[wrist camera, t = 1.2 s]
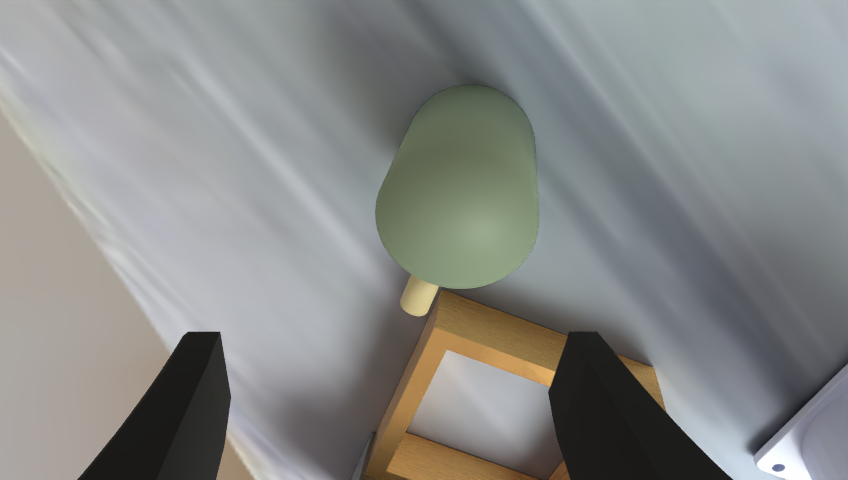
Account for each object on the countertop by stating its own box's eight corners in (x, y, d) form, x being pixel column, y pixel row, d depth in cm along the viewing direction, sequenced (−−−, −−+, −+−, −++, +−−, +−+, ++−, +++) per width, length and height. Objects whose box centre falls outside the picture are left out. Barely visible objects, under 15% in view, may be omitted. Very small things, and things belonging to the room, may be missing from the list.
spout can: (557, 113, 20) (568, 181, 16) (484, 262, 24) (475, 354, 19) (431, 64, 20) (404, 118, 16) (375, 221, 24) (339, 305, 19)
